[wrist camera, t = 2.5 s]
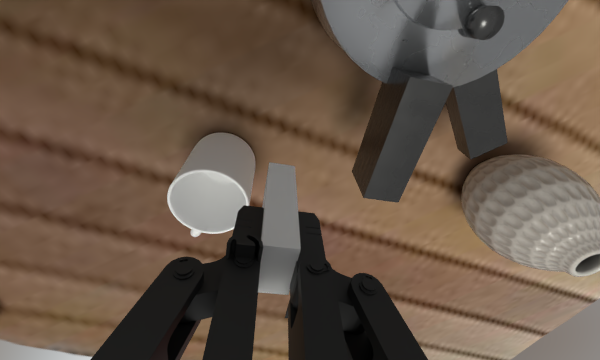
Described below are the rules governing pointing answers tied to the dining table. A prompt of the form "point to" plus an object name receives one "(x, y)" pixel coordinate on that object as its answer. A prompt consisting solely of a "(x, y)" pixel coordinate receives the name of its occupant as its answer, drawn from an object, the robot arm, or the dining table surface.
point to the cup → (213, 184)
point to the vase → (535, 213)
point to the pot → (466, 108)
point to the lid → (423, 68)
